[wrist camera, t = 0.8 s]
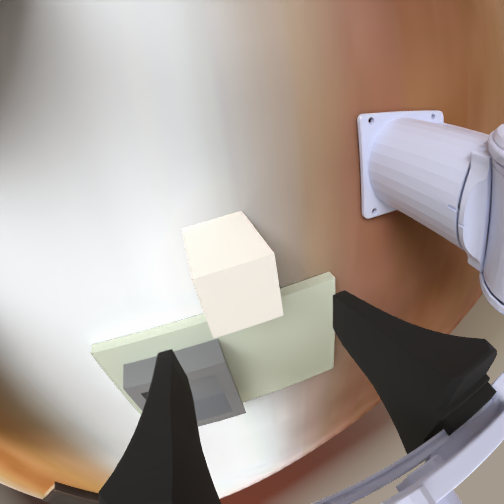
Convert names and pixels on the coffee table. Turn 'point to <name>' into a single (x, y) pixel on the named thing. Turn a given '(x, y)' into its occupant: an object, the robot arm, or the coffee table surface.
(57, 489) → the hardcover book
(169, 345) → the plate
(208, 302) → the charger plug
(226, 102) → the coffee table surface
